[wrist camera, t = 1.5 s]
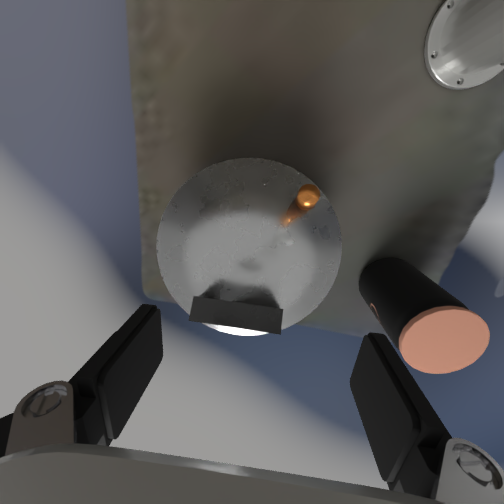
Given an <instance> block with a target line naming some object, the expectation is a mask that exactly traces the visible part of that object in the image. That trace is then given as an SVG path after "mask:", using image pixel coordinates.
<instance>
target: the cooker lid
mask: <svg viewBox="0 0 504 504" xmlns="http://www.w3.org/2000/svg"><path fill="white" fill-rule="evenodd" d="M341 253H342V239H341V232H340V227H339V223H338V220H337V216H336V214H335V212H334V210H333V207H332V205H331V204H330V202H329V201H328V199H327V197H326V196H325V195H324V193H323V192H322V191H321V190H320V188H319V187H318V186H317V185H316V184H315V183H314V182H313V181H311V180H310V179H309V178H308V177H306V176H305V175H304V174H302V173H301V172H299V171H297V170H296V169H294V168H292V167H290V166H287V165H285V164H283V163H279V162H276V161H273V160H268V159H262V158H237V159H231V160H226V161H223V162H220V163H217V164H214V165H212V166H209V167H207V168H205V169H204V170H202V171H200V172H198V173H197V174H195V175H194V176H193V177H191V178H190V179H189V180H188V181H187V182H185V183H184V184H183V185H182V186H181V187H180V188H179V190H178V191H177V192H176V193H175V194H174V196H173V197H172V199H171V200H170V202H169V203H168V205H167V207H166V209H165V211H164V213H163V216H162V219H161V222H160V225H159V230H158V235H157V259H158V264H159V268H160V272H161V275H162V278H163V280H164V283H165V285H166V287H167V288H168V290H169V292H170V294H171V295H172V296H173V298H174V299H175V300H176V302H177V303H178V304H179V305H180V306H181V307H182V308H183V309H184V310H185V311H186V312H187V313H188V314H189V315H190V316H189V321H194V322H201V323H203V324H205V325H207V326H209V327H211V328H213V329H216V330H219V331H221V332H226V333H230V334H235V335H262V334H267V333H274V334H281V329H285V328H287V327H289V326H291V325H293V324H295V323H297V322H299V321H300V320H302V319H303V318H304V317H306V316H307V315H309V314H310V313H311V312H312V311H313V310H314V309H315V308H316V307H317V306H318V305H319V304H320V303H321V302H322V300H323V299H324V298H325V297H326V295H327V294H328V292H329V290H330V289H331V287H332V285H333V283H334V280H335V278H336V276H337V273H338V269H339V265H340V261H341Z"/></svg>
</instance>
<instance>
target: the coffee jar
mask: <svg viewBox="0 0 504 504" xmlns="http://www.w3.org/2000/svg"><path fill="white" fill-rule="evenodd" d="M359 291H360V293H361V295H362V297H363V298H364V300H365V301H366V303H367V304H368V306H369V307H370V309H371V310H372V312H373V313H374V315H375V316H376V318H377V319H378V321H379V322H380V324H381V325H382V327H383V328H384V330H385V331H386V333H387V334H388V336H389V337H390V339H391V340H392V342H393V343H394V345H395V346H396V347H397V348H398V349H399V350H400V351H401V354H402V355H403V358H404V360H405V361H406V362H407V363H408V364H410V365H411V366H412V367H413V368H415V369H417V370H420V371H422V372H426V373H433V374H440V373H449V372H453V371H457V370H460V369H462V368H464V367H466V366H468V365H470V364H472V363H473V362H474V361H475V360H477V359H478V358H479V357H480V356H481V355H482V354H483V352H484V351H485V349H486V347H487V346H488V343H489V336H490V332H489V329H488V326H487V324H486V323H485V321H484V320H483V319H482V318H481V317H480V316H479V315H477V314H476V313H474V312H472V311H470V310H469V309H468V308H467V307H466V306H465V305H464V304H463V303H462V302H460V301H459V300H458V299H456V298H455V297H453V296H452V295H451V294H449V293H448V292H447V291H445V290H444V289H443V288H441V287H440V286H439V285H437V284H436V283H435V282H433V281H432V280H431V279H429V278H428V277H427V276H425V275H424V274H422V273H421V272H420V271H418V270H417V269H416V268H414V267H413V266H412V265H410V264H409V263H407V262H405V261H403V260H401V259H395V258H386V259H381V260H378V261H376V262H374V263H372V264H371V265H370V266H368V267H367V268H366V269H365V270H364V272H363V273H362V275H361V278H360V281H359Z"/></svg>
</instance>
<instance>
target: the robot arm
mask: <svg viewBox="0 0 504 504" xmlns="http://www.w3.org/2000/svg"><path fill="white" fill-rule="evenodd" d="M447 7H448V8H447ZM431 56H432V57H431ZM424 58H425V63H426V67H427V69H428V72H429V74H430V75H431V77H432V78H433V79H434V81H436V82H437V83H438V84H439V85H441V86H443V87H445V88H448V89H454V90H462V89H468V88H472V87H475V86H477V85H480V84H483V83H484V82H486V81H488V80H490V79H492V78H493V77H494V76H496V75H497V74H498V73H500V72H501V71H502V70H503V69H504V0H446V1H445V2H444V3H443V4H442V6H441V7H440V8H439V10H438V11H437V13H436V14H435V16H434V18H433V20H432V22H431V24H430V26H429V29H428V32H427V36H426V40H425V47H424ZM161 330H162V329H161V314H160V309H157V306H156V305H149V304H142V305H141V306H140V307H139V309H137V311H135V313H134V314H133V315H132V316H131V317H130V318H129V319H128V320H127V321H126V322H125V323H124V324H123V326H122V327H121V328H120V329H119V330H118V331H116V332H115V333H114V334H113V335H112V336H111V337H110V338H109V339H108V340H107V341H106V342H105V343H104V344H103V345H102V346H101V348H99V350H98V351H97V352H96V353H95V354H94V355H93V356H92V357H91V358H90V359H89V360H88V361H87V362H86V363H85V365H84V366H83V367H82V368H81V369H80V370H79V371H78V372H77V373H76V374H75V375H74V376H73V377H72V378H71V379H70V380H69V382H66V381H53V382H49V383H46V384H44V385H41V386H39V387H37V388H36V389H34V390H33V391H31V392H29V393H28V394H27V395H26V396H25V397H23V398H22V399H21V401H20V402H19V403H18V405H17V406H16V408H15V411H14V413H12V414H9V415H7V416H5V417H3V418H0V504H504V471H503V469H502V468H501V467H500V466H499V465H498V463H497V462H496V461H495V460H494V459H493V458H492V457H491V456H490V455H489V454H488V453H486V452H485V451H484V450H482V449H481V448H480V447H478V446H477V445H475V444H473V443H471V442H469V441H466V440H464V439H461V438H452V437H451V435H450V434H449V432H448V431H447V429H446V428H445V426H444V425H443V423H442V422H441V420H440V418H439V417H438V415H437V414H436V412H435V411H434V409H433V408H432V406H431V405H430V403H429V401H428V400H427V398H426V397H425V395H424V394H423V392H422V391H421V390H420V388H419V386H418V385H417V383H416V381H415V380H414V378H413V377H412V375H411V374H410V373H409V371H408V370H407V368H406V366H405V365H404V363H403V362H402V360H401V359H400V357H399V356H398V354H397V352H396V351H395V349H394V348H393V346H392V345H391V343H390V342H389V340H388V339H387V337H386V336H385V335H384V334H379V333H371V332H370V333H369V334H368V335H365V336H364V338H363V341H362V344H361V347H360V350H359V353H358V357H357V360H356V363H355V366H354V369H353V372H352V375H351V378H350V387H351V391H352V394H353V396H354V399H355V402H356V405H357V408H358V411H359V414H360V417H361V420H362V422H363V426H364V428H365V431H366V434H367V437H368V440H369V443H370V446H371V449H372V452H373V455H374V458H375V461H376V464H377V466H378V469H379V472H380V475H381V477H382V479H383V480H384V481H386V482H387V484H388V487H389V489H390V490H385V489H380V488H374V487H369V486H364V485H358V484H351V483H345V482H339V481H333V480H326V479H321V478H315V477H309V476H302V475H296V474H290V473H284V472H277V471H270V470H265V469H257V468H252V467H245V466H239V465H233V464H226V463H220V462H214V461H207V460H201V459H194V458H187V457H181V456H174V455H167V454H161V453H154V452H147V451H141V450H133V449H125V448H117V447H109V445H110V443H111V441H112V440H113V439H117V438H118V437H119V435H120V433H121V431H122V430H123V428H124V426H125V425H126V423H127V421H128V419H129V418H130V415H131V414H132V412H133V410H134V409H135V407H136V405H137V403H138V402H139V400H140V398H141V396H142V394H143V393H144V391H145V389H146V387H147V386H148V384H149V382H150V380H151V379H152V377H153V375H154V373H155V372H156V370H157V368H158V366H159V364H160V363H161V361H162V357H163V345H162V331H161Z"/></svg>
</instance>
